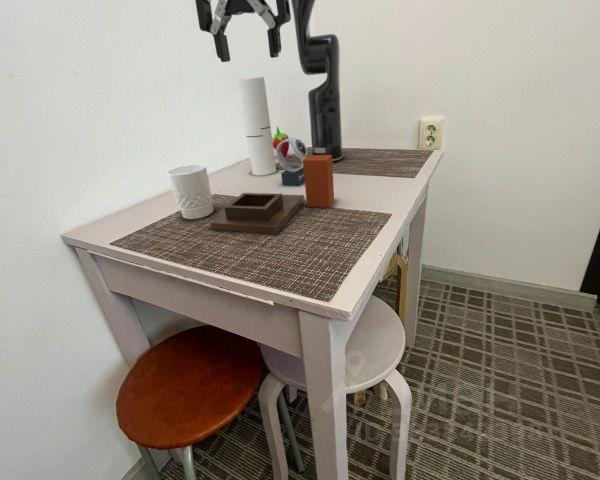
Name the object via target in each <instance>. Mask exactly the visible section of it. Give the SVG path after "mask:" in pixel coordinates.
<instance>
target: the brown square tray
mask: <svg viewBox="0 0 600 480" xmlns="http://www.w3.org/2000/svg"><path fill="white" fill-rule="evenodd" d="M305 202H306V201H305V195H304V194H283V193H267V192H266V193H264V192H242V193H241V194H239V195H238V196H237V197H235V199H232V200H231V201H230V202H229V203H227V204H226V205H225V206H224V207H223V208H224V211H223V212H222V213H220V214H219V215H218V216H217V217H215V218H214V219H213V220H212V221H210V227H211V230H215V231H229V232H243V233H256V234H257V233H258V234H273V235H278V234H279V232H281V231H282V229H283V228H284V227H285V226H286V224H287V223H288V222H289V221H290V220H291V218H292V217H293V216H294V215H295V214H296V212H297V211H298V210H299V209H300V207H301V206H302V205H303V204H304V203H305Z"/></svg>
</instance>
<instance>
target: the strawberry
mask: <svg viewBox="0 0 600 480" xmlns="http://www.w3.org/2000/svg"><path fill="white" fill-rule="evenodd" d="M288 138H289V136H288V134H286V133H283V132H281V131H280V129H279V126H278V125H277V126H276V133H275V134H274V135H273V136H272V142H273V149H274V151H276V149H277V146H278V145H279V143H281V142H282V141H284V140H286V139H288ZM289 149H290V143H289V142H288V141H287V142H284V143H283V144H282V145H281V150H280V151H281V153H282V155H283V157H286V156H287V155H288V152H289Z"/></svg>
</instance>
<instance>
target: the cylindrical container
mask: <svg viewBox="0 0 600 480" xmlns="http://www.w3.org/2000/svg"><path fill="white" fill-rule="evenodd" d="M236 83H237V90H238V95H239V102H240V108H241V113H242V114H241V115H242V119H243V126H244V131H245V138H246V143H247V151H248V155H249V161H250V162H249V163H250V167H251V173H252V175H253V176H266V175H271V174H274V173H276V172H277V166H276V158H275V157H276V156H275V148H274V147H273V142H272V138H273V136H272V128H271V120H270V111H269V104H268V98H267V90H266V89H267V88H266V81H265V76H258V77H250V78H249V77H248V78H240V79H236Z"/></svg>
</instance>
